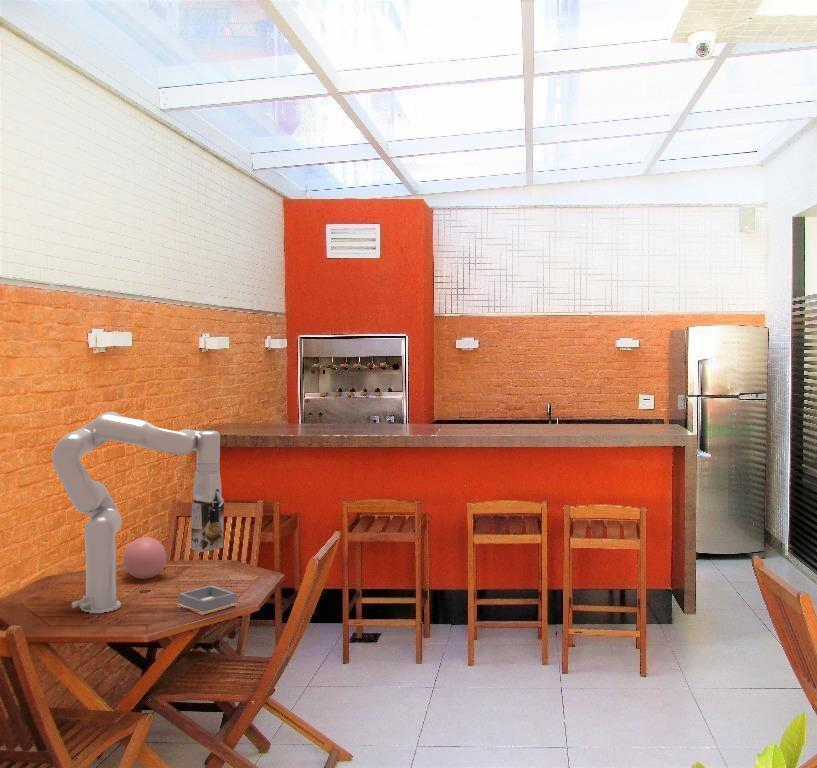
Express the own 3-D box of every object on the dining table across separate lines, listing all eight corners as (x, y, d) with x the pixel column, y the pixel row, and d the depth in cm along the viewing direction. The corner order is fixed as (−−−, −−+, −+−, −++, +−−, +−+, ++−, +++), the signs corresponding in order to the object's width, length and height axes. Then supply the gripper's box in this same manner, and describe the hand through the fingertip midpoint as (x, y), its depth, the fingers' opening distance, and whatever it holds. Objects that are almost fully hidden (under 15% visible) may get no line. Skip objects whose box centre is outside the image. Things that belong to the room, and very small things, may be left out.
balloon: (153, 567, 335) (153, 528, 334) (172, 580, 319) (172, 539, 318) (113, 573, 326) (113, 533, 325) (131, 586, 310) (131, 544, 309)
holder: (203, 615, 280) (203, 602, 280) (178, 606, 288) (178, 593, 288) (235, 606, 290) (235, 593, 290) (211, 597, 299) (211, 585, 298)
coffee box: (202, 552, 283) (203, 504, 282) (190, 549, 286) (190, 501, 286) (224, 547, 290) (224, 500, 289) (211, 544, 294) (212, 497, 293)
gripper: (183, 465, 289) (182, 518, 290) (215, 472, 278) (214, 526, 279) (201, 463, 295) (200, 515, 296) (233, 469, 284) (232, 523, 285)
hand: (207, 520), depth 288 cm, fingers closed on coffee box, 6 cm apart
